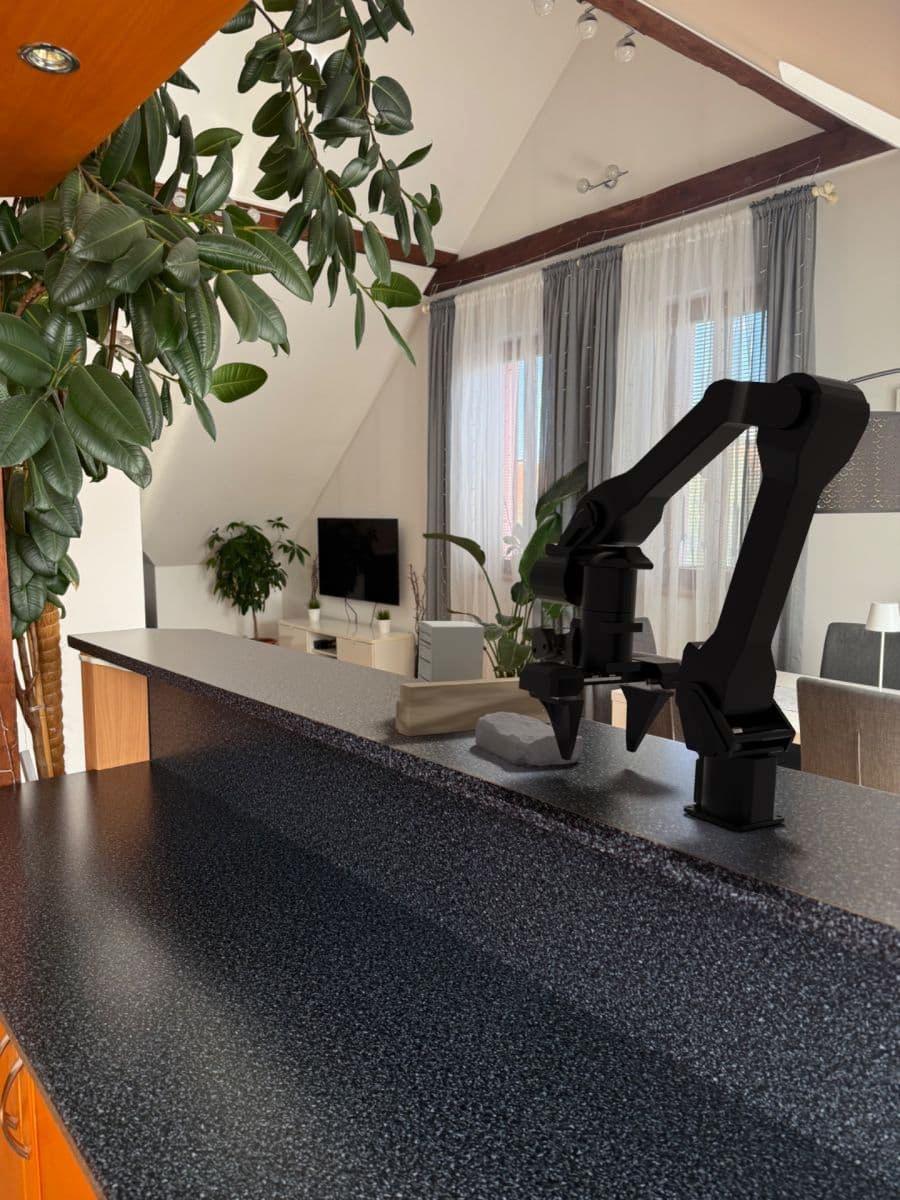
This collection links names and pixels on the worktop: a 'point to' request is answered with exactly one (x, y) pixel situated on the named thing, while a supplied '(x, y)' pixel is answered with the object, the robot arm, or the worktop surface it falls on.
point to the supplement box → (450, 651)
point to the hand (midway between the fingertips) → (599, 755)
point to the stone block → (521, 740)
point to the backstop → (461, 704)
